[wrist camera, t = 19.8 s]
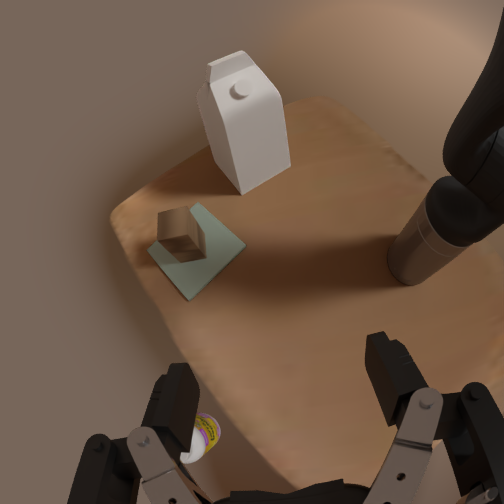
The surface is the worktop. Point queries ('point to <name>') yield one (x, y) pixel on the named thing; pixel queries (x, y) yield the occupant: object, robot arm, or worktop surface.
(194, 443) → the supplement bottle
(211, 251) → the sage board
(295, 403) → the worktop surface
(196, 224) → the walnut block
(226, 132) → the milk
